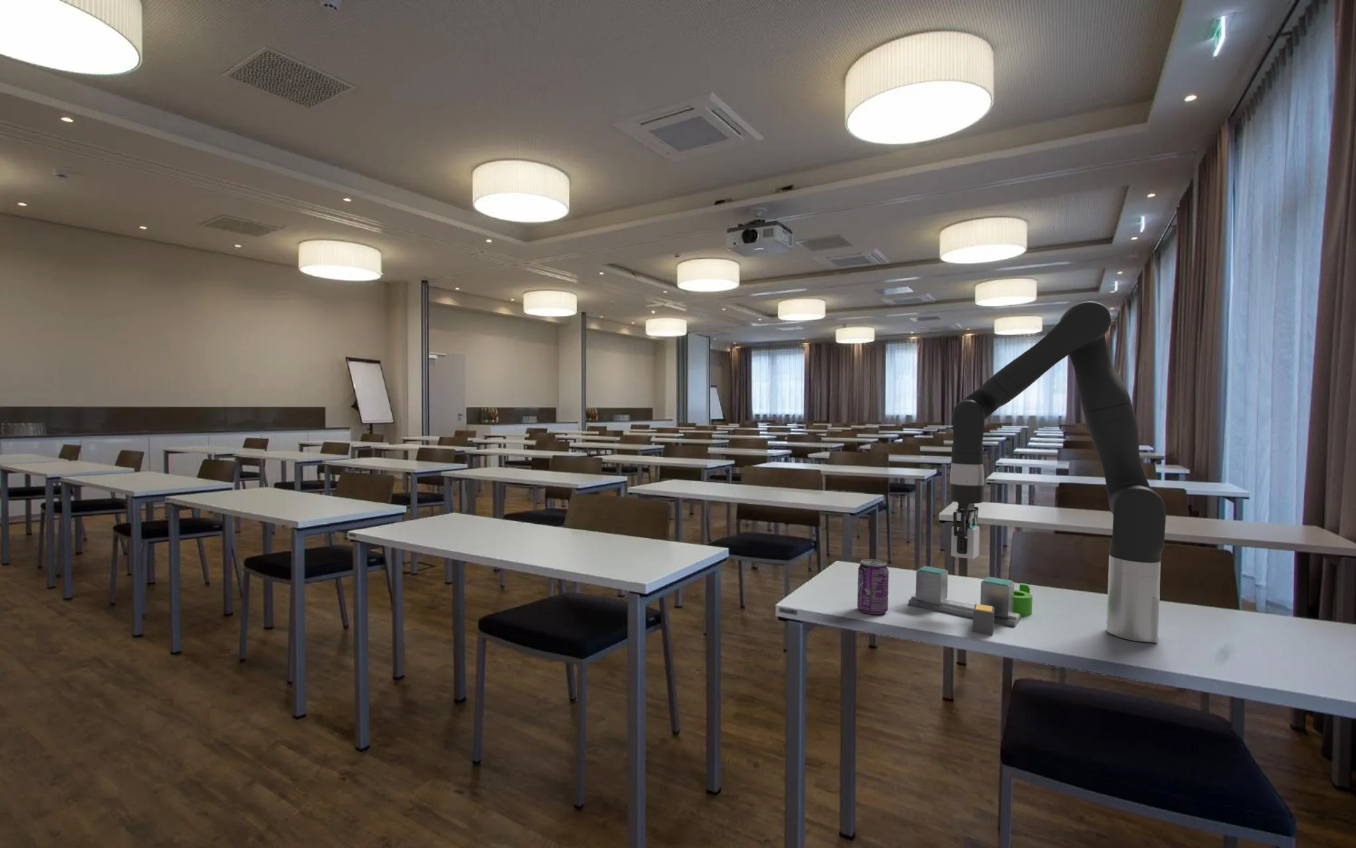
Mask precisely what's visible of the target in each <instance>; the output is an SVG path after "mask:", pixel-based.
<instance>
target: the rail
mask: <svg viewBox="0 0 1356 848" xmlns="http://www.w3.org/2000/svg"><path fill="white" fill-rule="evenodd" d="M915 571H916V573H915V574H916V575H915V576H916V577H915V593H913V594H912V595H911V596H910V599H908V605H909V606H913V607H916V608H917V607H918V608H921V609H922V608H923V609H926V610H932V611H936V612H941V613H946V614H951V615H955V616H960V617H964V618H969V619H973V610H974V606H975V604H973V603H972V604H971V603H968V602H967V603H966V602H963V601H956V600H952V599H948V586H949V585H948V583H949V581H948V579H949V578H948V577H949V570H948V569H947V570H946V568H945V569H944V568H938V567H934V566H928V565H924V566H921V567H920V568H919V569H917V570H915ZM1014 590H1015V581H1013V580H1010V579H1006V578H998V577H993V576H987V577H985V578H984V579H983V580H982V581H980V602H979V604H981V605H987V606H992V607H994V624H998V625H1002V626H1003V625H1004V626H1007V627H1011V628H1012V627H1014V628H1015V627H1016V626H1017V625H1018V624H1019V622H1020V621H1022V616H1021V614H1018V613H1013V609H1014Z"/></svg>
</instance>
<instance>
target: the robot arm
mask: <svg viewBox="0 0 1356 848" xmlns="http://www.w3.org/2000/svg"><path fill="white" fill-rule="evenodd" d="M1111 325H1112V315H1111V313H1110V310H1109V309H1108V308H1107V307H1106V306H1105V305H1104V304H1102V303H1100V302H1097V301H1083V302H1082V301H1081V302H1080V303H1079V302H1078V303H1077V304H1075V305H1073V306H1071V307H1070V308H1068V309H1067V311H1065V312H1064V314H1063V315H1062V316H1061V317H1060V318H1059V321H1058V323H1057V324H1056V325H1055V326H1054V327H1053V328H1052V329H1051V330H1050V331H1049V332H1048V333H1047V334H1046V335H1045V336H1044V337H1043V338H1042V339H1040V340H1039V341H1038V342H1037V343H1035V344H1034V345H1033V346H1031V347H1030V348H1028V349H1027V350H1026V351H1024V352H1023V353H1021V354H1020V355H1019V356H1017V357H1016V358H1015V359H1013V360H1012V361H1010V362H1009V363H1008V364H1006V365H1005V366H1003V367H1002V368H1001V369H1000V370H999V371H997V372H996V373H995V374H993V375H992V376H991V377H990V378H988V379H987V380H986V381H985V382H984V383H983V384H982V385H981V386H980V387H979V388H978V389H976V390H974V391H973V392H972V393H970V394H969V395H968V396H966V397H965V398H963V399H962V400H961V401H959V402H958V403H957V404H956V405H955V406H954V407H953V409H952V412H951V413H952V414H951V416H952V437H953V438H952V439H953V440H952V441H953V442H952V445H951V460H950V461H951V464H950V471H949V500H950V501H951V502H954V503H958V504H957V508H956V509H955V511H953V513H952V518H953V520H952V521H953V526H954V536H956V538H957V553H959V554H966V553H967V540H968V539H967V538H968V530H969V529H971V526H972V525H977V526H978V519H979V510H980V509H979V507H978V506H975V504H981V503H983V502H984V499H985V498H984V495H985V494H984V493H985V492H984V490H985V486H984V485H985V470H984V469H985V468H984V444H983V440H984V433H985V432H984V431H985V421H986V419H987V418H988V417H990V415H992V414H994V413H995V412H996V411H997V410H999V408H1002V407H1003V406H1005V405H1006V404H1009V403H1010V402H1011V401H1012V400H1013V399H1015V398H1016V397H1017V396H1019V395H1020V394H1021V393H1023V392H1024V391H1025V390H1026V389H1028V388H1029V387H1031V385H1033V384H1034V383H1035V382H1036V381H1037V380H1038V379H1040V378H1041V377H1042V376H1043V375H1044V374H1045V373H1046V372H1048V371H1049V370H1050V369H1052V368H1053V367H1054V366H1055V365H1056V364H1058V363H1059V362H1060V361H1062V360H1063V359H1065V358H1066V357H1069V358H1070V361H1071V364H1072V366H1073V369H1074V373H1075V378H1076V384H1077V390H1078V395H1079V399H1080V403H1081V407H1082V412H1083V416H1084V419H1085V423H1086V427H1087V429H1088V432H1089V435H1090V437H1091V440H1092V443H1093V446H1094V449H1095V451H1096V454H1097V456H1098V459H1099V461H1100V463H1101V466H1102V470H1103V474H1104V480H1105V486H1106V493H1107V499H1108V507H1109V510H1110V513H1112V516H1113V517H1112V533H1111V534H1112V536H1111V540H1110V543H1109V546H1108V547H1109V549H1108V552H1109V553H1108V554H1109V555H1108V577H1107V578H1108V579H1107V580H1108V581H1107V602H1106V603H1107V605H1106V609H1107V610H1106V631H1107V633H1109V634H1111V635H1113V636H1116V637H1118V638H1121V639H1125V640H1128V641H1134V642H1141V643H1142V642H1143V643H1154V644H1158V643H1159V642H1158V641H1159V627H1160V626H1159V625H1160V598H1161V596H1160V595H1161V594H1160V593H1161V592H1160V590H1161V589H1160V588H1161V586H1160V585H1161V562H1162V553H1163V550H1164V547H1165V536H1166V521H1167V520H1166V519H1167V511H1166V509H1167V508H1166V504H1165V502H1164V500H1163V498H1162V496H1160V495H1159V494H1158V493H1157V492H1156V491H1154V489H1152V488H1151V485H1150V484H1149V482H1148V481H1149V480H1148V479H1147V476H1146V473H1145V471H1144V468H1143V465H1142V461H1141V455H1140V436H1139V435H1140V434H1139V427H1138V426H1139V425H1138V420H1137V416H1136V412H1135V410H1134V406H1133V403H1132V400H1131V396H1130V394H1129V392H1128V390H1127V388H1126V386H1125V384H1124V382H1123V380H1122V379H1121V377H1120V375H1119V374H1118V371H1116V368H1115V367H1114V365H1113V363H1112V360H1111V358H1110V354H1109V350H1108V345H1107V339H1106V334H1107V333H1108V331H1109V329H1110V328H1111ZM960 528H962V531H963V532H960V531H959V529H960Z"/></svg>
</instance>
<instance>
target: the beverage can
mask: <svg viewBox="0 0 1356 848" xmlns="http://www.w3.org/2000/svg"><path fill="white" fill-rule="evenodd" d="M887 565H888V564H887V562H886V561H883V560H880V559H871V558H869V559H867V558H866V559H861V560H860V564H859V566H858V571H857V598H856V599H857V609H858V610H860V611H861V612H863V613H864V614H869V615H882V614H883V613H886V612H887V611H888V610H889V577H890V576H889V575H890V574H889V573H890V572H889V571H890V570H889V569H888V566H887Z"/></svg>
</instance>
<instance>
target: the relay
mask: <svg viewBox="0 0 1356 848" xmlns="http://www.w3.org/2000/svg"><path fill="white" fill-rule="evenodd" d="M974 605H975V606H974V610H973V618H972V633H977V634H980V635H987V636H988V635H989V636H994V630H995V623H994V607H992V606H987V605H981V604H980V603H975V604H974Z"/></svg>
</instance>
